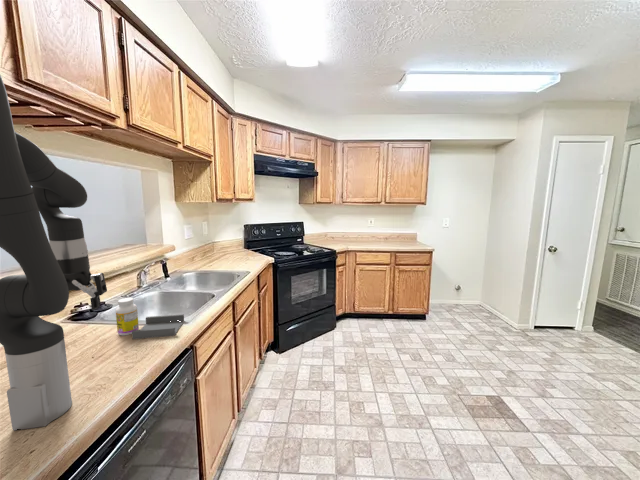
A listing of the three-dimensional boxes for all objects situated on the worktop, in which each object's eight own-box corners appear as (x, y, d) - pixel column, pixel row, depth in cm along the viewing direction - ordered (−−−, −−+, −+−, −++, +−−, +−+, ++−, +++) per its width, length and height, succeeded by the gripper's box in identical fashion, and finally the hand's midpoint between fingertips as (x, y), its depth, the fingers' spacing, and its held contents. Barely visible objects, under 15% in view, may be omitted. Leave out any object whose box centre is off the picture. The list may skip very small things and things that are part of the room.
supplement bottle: (116, 331, 103) (113, 299, 101) (136, 326, 107) (134, 295, 105) (119, 338, 98) (116, 304, 96) (140, 332, 102) (138, 299, 101)
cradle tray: (174, 335, 100) (174, 328, 100) (132, 339, 97) (131, 331, 97) (184, 320, 113) (183, 314, 112) (147, 323, 110) (146, 316, 109)
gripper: (27, 259, 69) (38, 317, 72) (91, 257, 72) (99, 313, 75) (49, 252, 76) (58, 305, 79) (106, 251, 79) (113, 302, 82)
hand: (78, 309), depth 77 cm, fingers open, 8 cm apart
